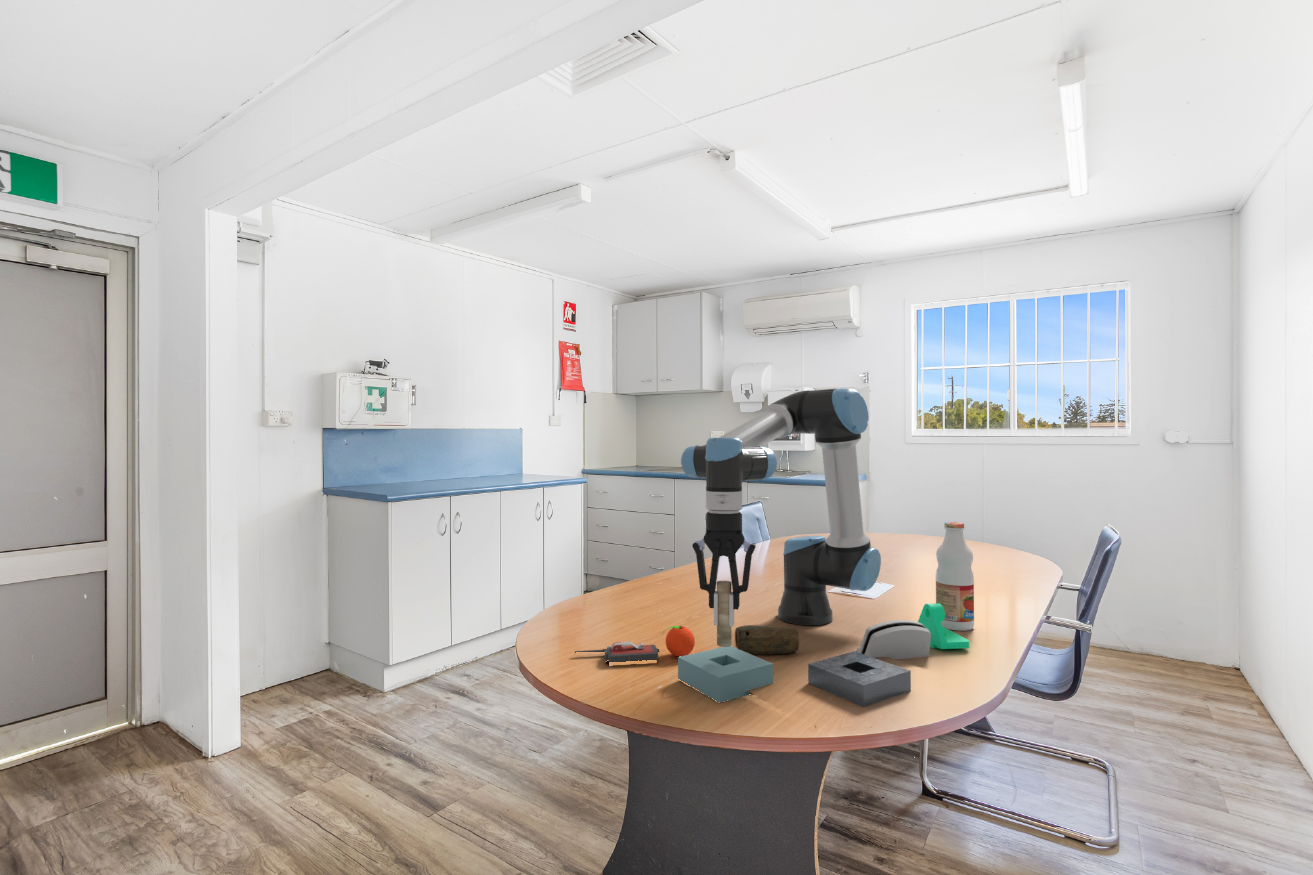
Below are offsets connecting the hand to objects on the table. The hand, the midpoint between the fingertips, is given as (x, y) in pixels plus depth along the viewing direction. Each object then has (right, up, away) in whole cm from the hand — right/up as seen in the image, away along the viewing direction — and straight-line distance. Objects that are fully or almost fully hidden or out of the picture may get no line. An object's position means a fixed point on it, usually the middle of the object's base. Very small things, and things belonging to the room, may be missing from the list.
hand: (724, 623), depth 134 cm
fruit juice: (+67, -13, +41) cm, 79 cm away
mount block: (+27, -13, -4) cm, 30 cm away
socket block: (0, -13, 0) cm, 13 cm away
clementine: (-9, -13, +18) cm, 24 cm away
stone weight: (+12, -13, +20) cm, 27 cm away
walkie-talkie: (-23, -13, +15) cm, 31 cm away
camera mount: (+57, -13, +25) cm, 64 cm away
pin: (0, -4, 0) cm, 4 cm away
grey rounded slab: (+42, -13, +16) cm, 46 cm away
